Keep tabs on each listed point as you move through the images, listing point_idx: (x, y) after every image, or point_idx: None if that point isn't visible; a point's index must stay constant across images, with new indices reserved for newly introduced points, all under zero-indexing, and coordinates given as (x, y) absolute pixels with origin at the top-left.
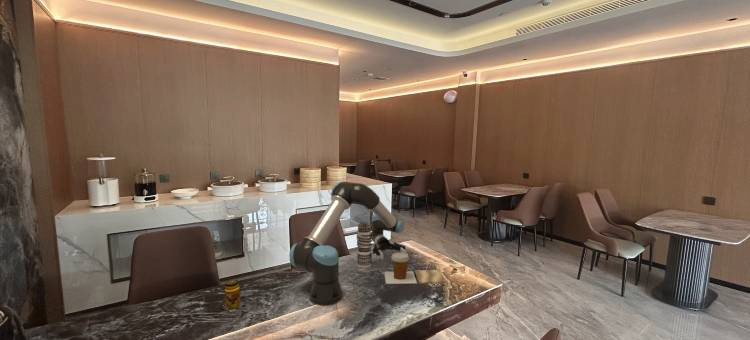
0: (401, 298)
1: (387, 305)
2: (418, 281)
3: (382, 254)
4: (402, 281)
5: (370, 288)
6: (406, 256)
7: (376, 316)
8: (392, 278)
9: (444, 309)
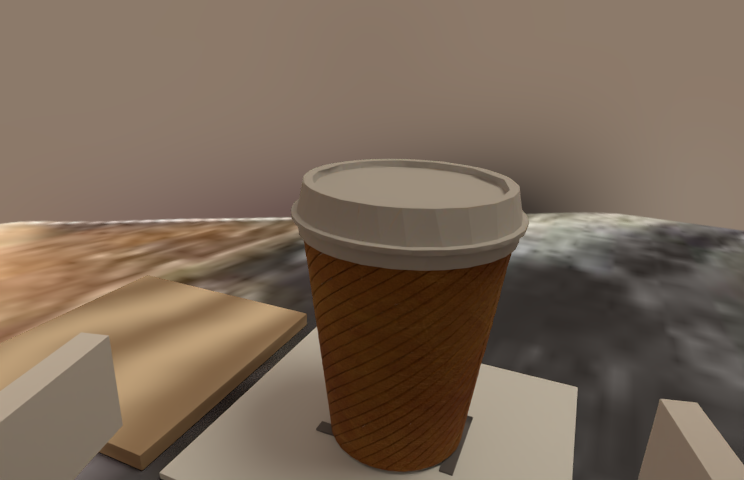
0: None
1: (593, 266)
2: (295, 329)
3: (677, 410)
4: None
5: (730, 387)
6: (346, 174)
7: (649, 246)
8: (489, 430)
9: None
